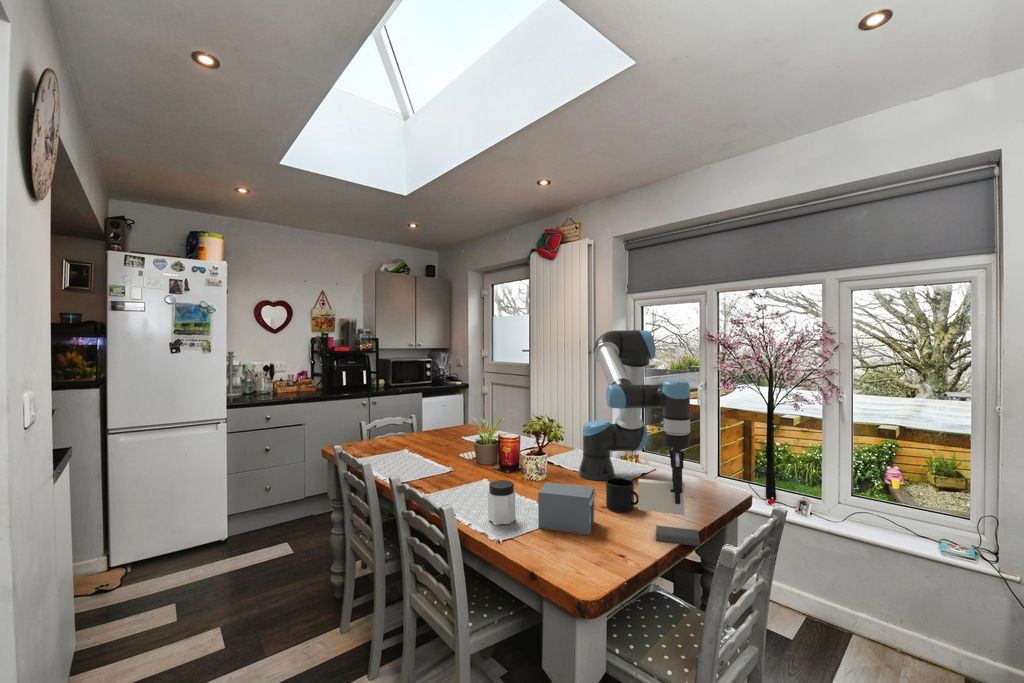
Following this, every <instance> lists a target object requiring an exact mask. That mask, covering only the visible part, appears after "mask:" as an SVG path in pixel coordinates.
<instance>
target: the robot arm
mask: <svg viewBox="0 0 1024 683" xmlns="http://www.w3.org/2000/svg"><path fill="white" fill-rule="evenodd" d="M592 352H593V356H594V358H595V360H596V362H597V363H599V364H600V368H601V369H602V372H603V375H604V377H605V380H606V383H607V386H606V390H605V398H606V399H605V400H606V405H607V407H609V408H610V409H619V416H617V417H616V418H615V420H614V421H615V422H614V423H611V422H610V421H609V420H607V419H597V420H590V421H587V422H586V423H584V424H583V426H582V459H581V462H580V466H579V468H578V475H579V476H580V477H581V478H583V479H585V480H586V479H587V480H591V481H607V480H608V479H611V478H613V477H614V478H615V469H614V465H613V462H612V460H611V452H640V451H642V450H644V449H645V447H646V445H647V442H648V428H647V425H646V424H644V421H643V419H642V418H641V412H642V409H662V417H663V420H662V421H661V422H660V424H661V425H663V429H662V430H663V431H664V433H663V435H662V438H663V440H662V441H663V442H662V443H663V445H664V446H665V447H667V448H672V449H671V450H669V458H670V459H669V460H670V468H671V476H672V478H671V482H673V490H670V492H672V494H673V514H672V515H679V516H680V515H681V516H684V515H683V504H682V492H683V490H682V483H683V469H684V460H685V452H684V451H682V449H688V448H690V447H691V434H690V433H691V418H690V416H691V412H690V411H691V400H690V399H691V392H690V384H689V382H688V381H686V380H675V379H673V380H665V381H663V383H655V384H644V380H645V379H644V378H645V368H647V367H648V366H649V365H650V360H651V361H652V360H653V359H655V356H656V343H655V340H654V336H653V335H652V332H650V331H648V330H642V329H641V330H640V329H636V330H635V329H634V330H633V329H632V330H630V329H629V330H628V329H627V330H625V329H624V330H609V331H606V332H605V333H602V335H600V336H599V337H598V338H597V339H596V341H595V343H594V344H593V349H592Z"/></svg>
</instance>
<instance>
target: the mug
mask: <svg viewBox="0 0 1024 683" xmlns="http://www.w3.org/2000/svg"><path fill="white" fill-rule="evenodd" d="M605 488H606V489H605V490H606V492H605V493H606V494H605V501H606V502H605V504H606V505H605V506H606V508H607V509H608V510H610V511H611V512H615V513H631V512H632V511H634V510H635V505H636V506H637V505H638V492H636V491H635V484H634V481H632V480H631V479H628V478H625V477H614V478H611V479H608V480H605ZM635 498H636V499H635Z"/></svg>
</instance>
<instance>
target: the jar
mask: <svg viewBox="0 0 1024 683" xmlns="http://www.w3.org/2000/svg"><path fill="white" fill-rule="evenodd" d="M488 488H489V490H488V491H487V512H488V513H487V520H488V519H490V520H491V521H492V522H493V523H496V524H509V525H511V524H512V523H513V522H515V521H516V491H515V483H514V482H513V481H511V480H508V479H507V480H506V479H497V480H494V481H490V483H489V487H488ZM514 520H515V521H514ZM512 521H513V522H512ZM511 522H512V523H511ZM493 523H492V524H493ZM510 523H511V524H510Z"/></svg>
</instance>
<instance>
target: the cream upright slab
mask: <svg viewBox="0 0 1024 683" xmlns="http://www.w3.org/2000/svg"><path fill="white" fill-rule="evenodd" d="M637 483H638V486H637V488H638V491H637V494H638V504H637V505H638V510H639V511H646V512H656V513H663V514H672V515H674V514H673V494H672V492H670V490H673V482H672V481H670V480H669V481H668V480H667V481H666V480H656V479H645V478H638V482H637ZM682 490H683V492H682V504H683V515H682V516H685V515H686V514H685V513H686V512H685V508H686V507H685V506H686V505H685V483H684V482H682Z"/></svg>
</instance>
